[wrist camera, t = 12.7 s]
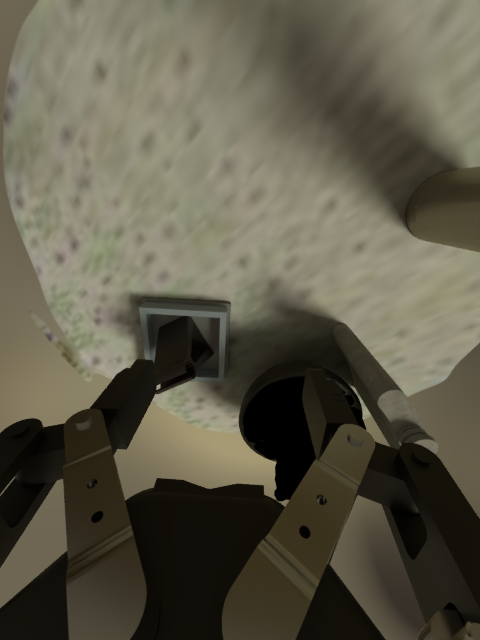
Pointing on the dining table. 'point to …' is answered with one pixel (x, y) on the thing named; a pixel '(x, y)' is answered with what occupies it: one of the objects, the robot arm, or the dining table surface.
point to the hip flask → (381, 394)
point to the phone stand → (179, 353)
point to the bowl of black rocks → (285, 421)
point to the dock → (207, 318)
